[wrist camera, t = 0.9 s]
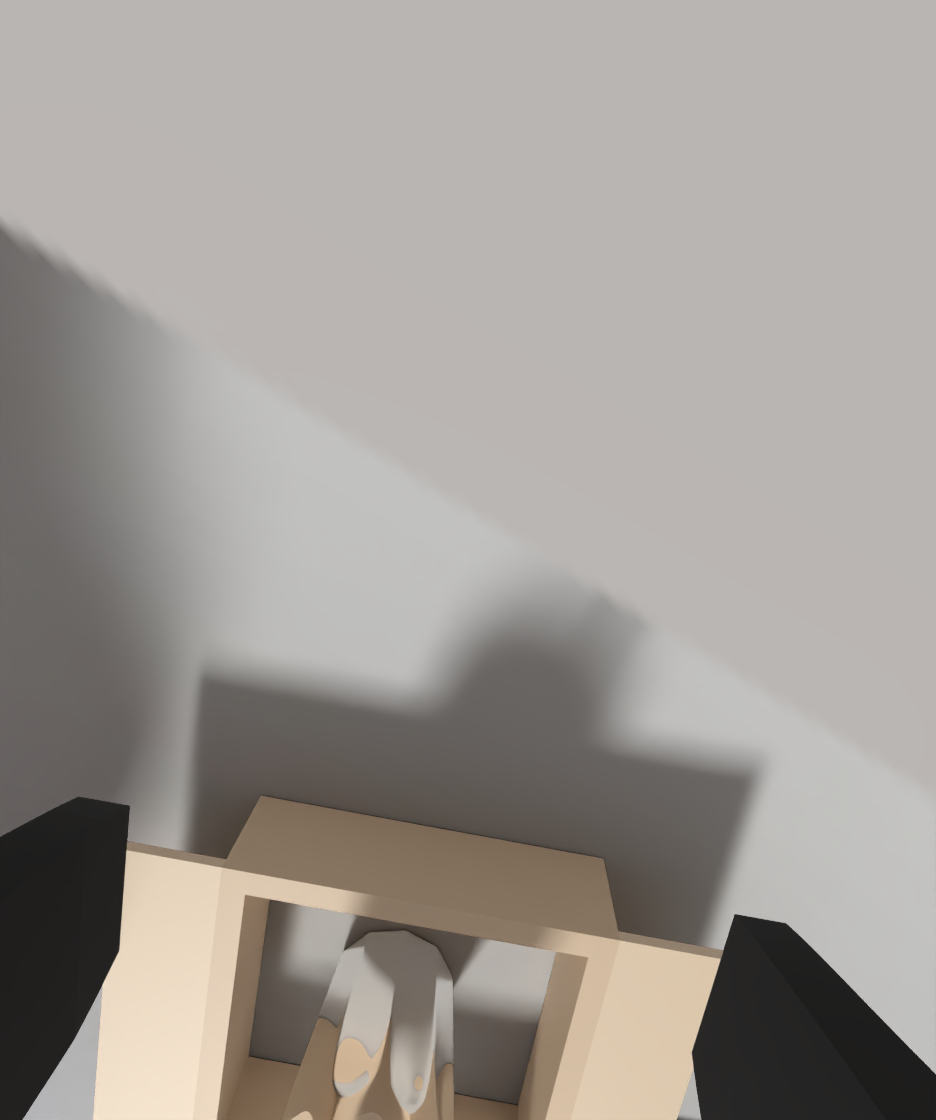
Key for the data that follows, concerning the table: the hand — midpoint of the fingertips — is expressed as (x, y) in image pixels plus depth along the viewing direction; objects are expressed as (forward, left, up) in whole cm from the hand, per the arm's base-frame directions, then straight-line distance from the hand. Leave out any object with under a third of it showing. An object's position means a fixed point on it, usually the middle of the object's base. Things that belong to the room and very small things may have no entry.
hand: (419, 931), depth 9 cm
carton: (-10, 0, -10) cm, 15 cm away
